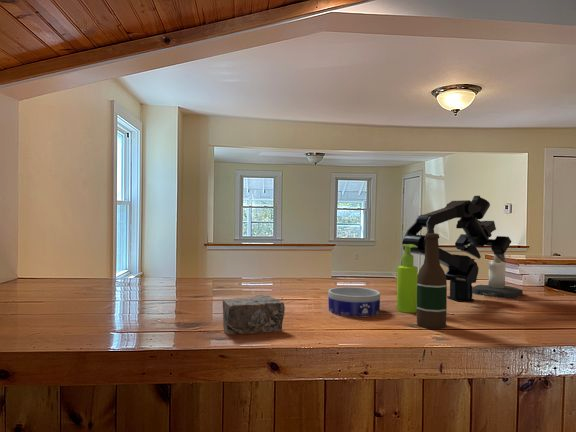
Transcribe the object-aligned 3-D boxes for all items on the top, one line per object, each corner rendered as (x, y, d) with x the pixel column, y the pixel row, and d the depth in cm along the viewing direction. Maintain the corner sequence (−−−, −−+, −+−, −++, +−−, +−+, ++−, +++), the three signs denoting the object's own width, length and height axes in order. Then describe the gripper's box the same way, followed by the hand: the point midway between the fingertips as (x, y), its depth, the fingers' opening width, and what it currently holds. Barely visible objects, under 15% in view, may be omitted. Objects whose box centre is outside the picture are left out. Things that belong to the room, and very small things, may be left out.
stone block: (270, 322, 109) (271, 293, 109) (284, 331, 100) (285, 300, 101) (219, 327, 103) (219, 297, 103) (229, 337, 95) (229, 304, 95)
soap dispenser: (405, 314, 118) (406, 245, 118) (393, 308, 125) (393, 243, 125) (423, 313, 120) (423, 244, 120) (410, 307, 127) (410, 243, 126)
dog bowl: (364, 304, 132) (364, 285, 132) (390, 315, 117) (390, 294, 117) (320, 307, 127) (320, 287, 127) (341, 319, 112) (341, 297, 112)
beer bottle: (422, 320, 112) (423, 232, 112) (451, 325, 107) (452, 233, 107) (410, 325, 106) (411, 233, 106) (441, 331, 101) (442, 234, 101)
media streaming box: (525, 295, 150) (525, 287, 150) (511, 301, 140) (511, 292, 140) (484, 289, 161) (484, 282, 161) (468, 294, 151) (468, 286, 151)
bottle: (502, 289, 146) (503, 255, 146) (486, 286, 150) (487, 253, 149) (506, 286, 150) (507, 253, 149) (491, 284, 154) (491, 251, 153)
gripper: (508, 212, 138) (526, 244, 143) (460, 212, 154) (478, 241, 159) (494, 236, 134) (513, 268, 139) (446, 233, 150) (464, 262, 155)
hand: (491, 259), depth 148 cm, fingers open, 9 cm apart
